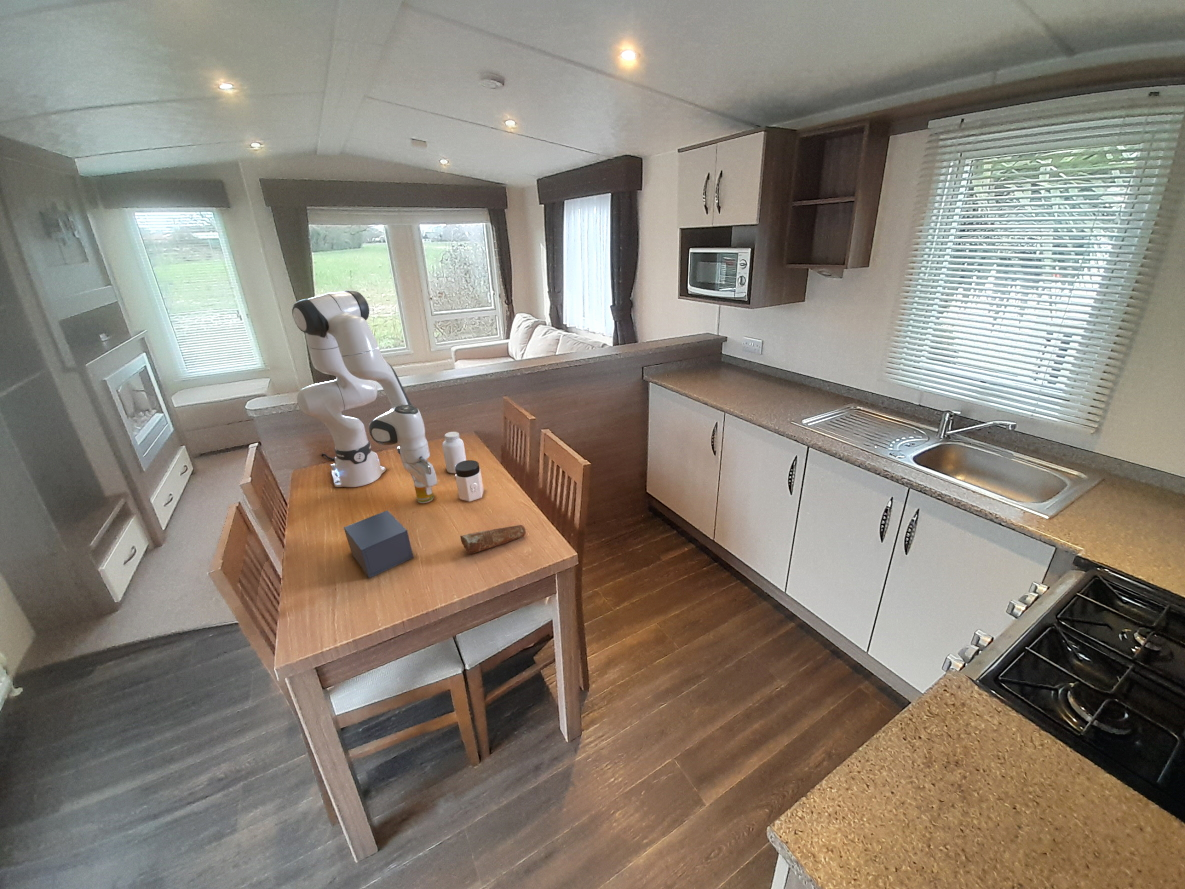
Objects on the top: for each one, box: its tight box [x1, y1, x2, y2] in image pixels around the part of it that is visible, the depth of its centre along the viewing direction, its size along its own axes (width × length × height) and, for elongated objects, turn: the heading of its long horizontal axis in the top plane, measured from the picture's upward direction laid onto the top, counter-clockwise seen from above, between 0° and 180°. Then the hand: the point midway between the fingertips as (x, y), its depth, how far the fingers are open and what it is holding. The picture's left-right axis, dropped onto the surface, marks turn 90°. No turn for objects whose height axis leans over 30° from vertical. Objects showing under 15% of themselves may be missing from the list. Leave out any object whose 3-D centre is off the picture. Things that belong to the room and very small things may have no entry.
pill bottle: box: [441, 431, 467, 474], centre depth 184 cm, size 8×8×15 cm
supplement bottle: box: [413, 478, 434, 504], centre depth 165 cm, size 5×5×10 cm
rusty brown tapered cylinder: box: [459, 524, 527, 555], centre depth 141 cm, size 6×19×6 cm, turn 115°
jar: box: [454, 459, 484, 503], centre depth 166 cm, size 9×8×12 cm
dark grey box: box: [343, 509, 414, 579], centre depth 137 cm, size 15×13×10 cm
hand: (423, 488), depth 164 cm, fingers open, 8 cm apart
